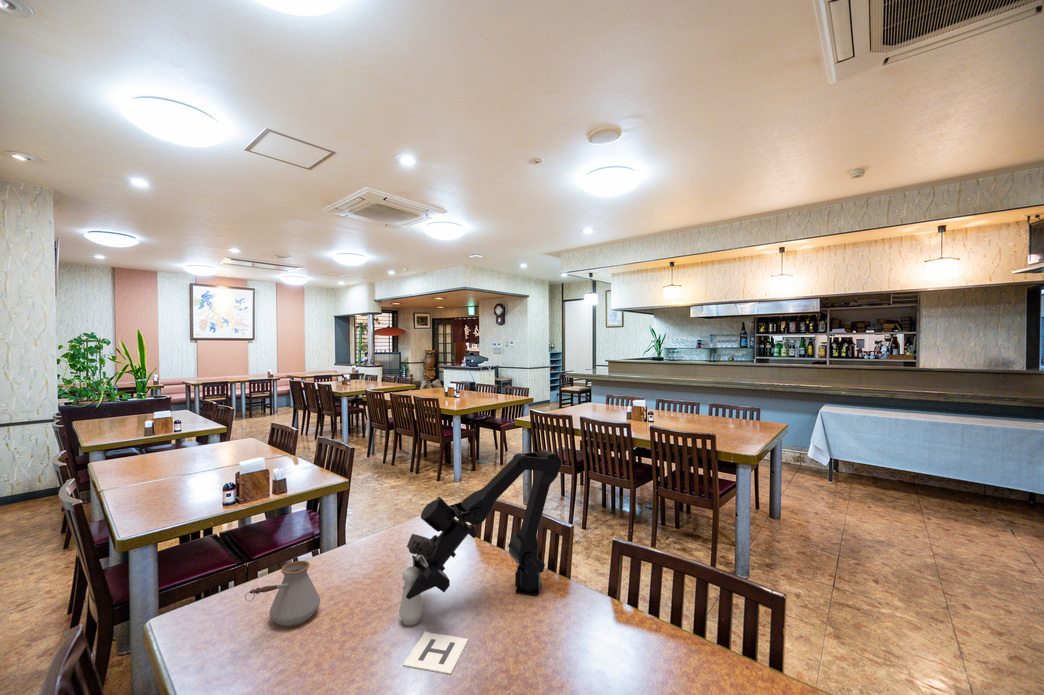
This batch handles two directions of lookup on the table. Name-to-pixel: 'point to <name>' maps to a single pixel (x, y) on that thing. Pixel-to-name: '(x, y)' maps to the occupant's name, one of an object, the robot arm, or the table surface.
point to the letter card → (436, 653)
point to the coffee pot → (292, 595)
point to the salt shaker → (413, 606)
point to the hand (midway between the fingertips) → (405, 594)
